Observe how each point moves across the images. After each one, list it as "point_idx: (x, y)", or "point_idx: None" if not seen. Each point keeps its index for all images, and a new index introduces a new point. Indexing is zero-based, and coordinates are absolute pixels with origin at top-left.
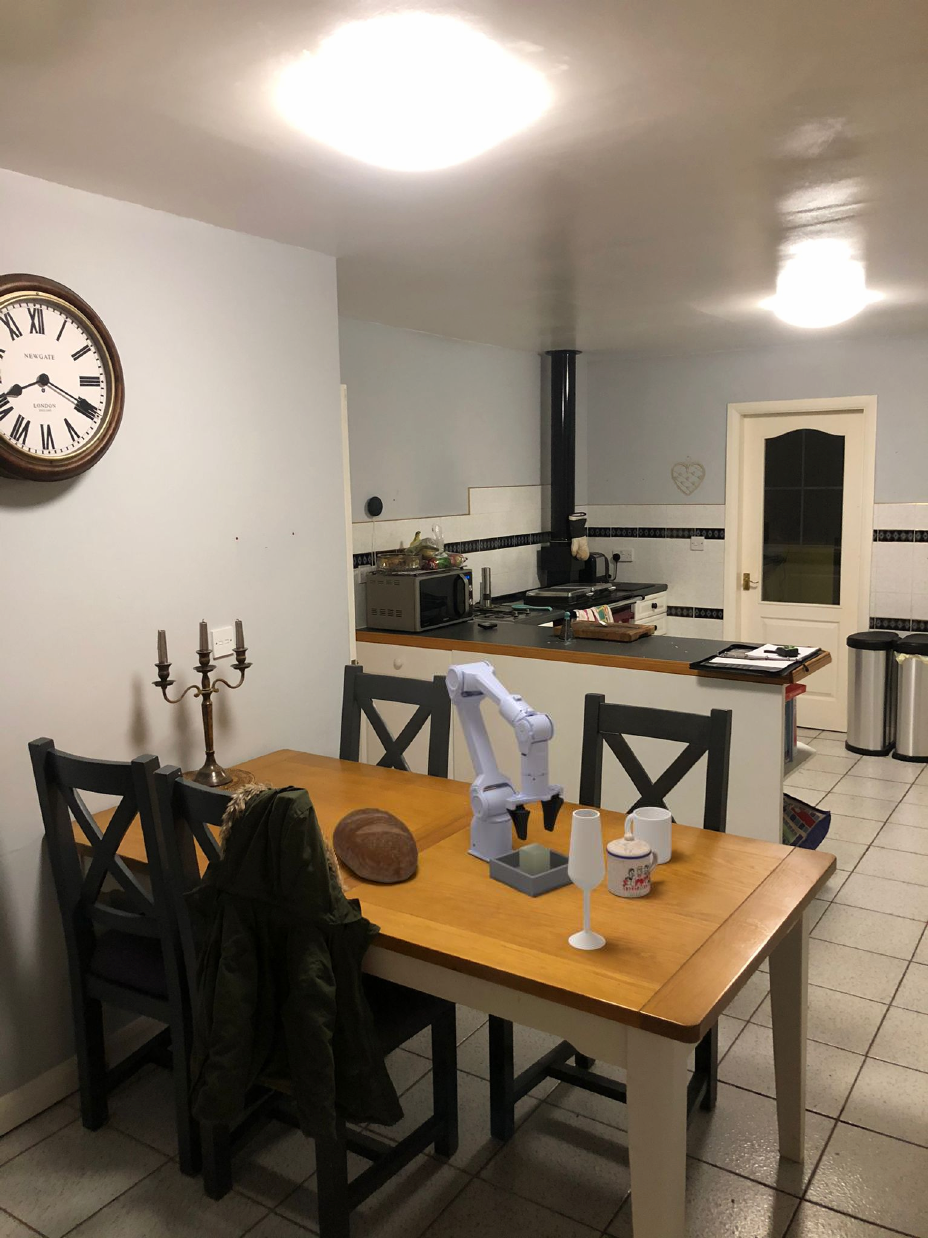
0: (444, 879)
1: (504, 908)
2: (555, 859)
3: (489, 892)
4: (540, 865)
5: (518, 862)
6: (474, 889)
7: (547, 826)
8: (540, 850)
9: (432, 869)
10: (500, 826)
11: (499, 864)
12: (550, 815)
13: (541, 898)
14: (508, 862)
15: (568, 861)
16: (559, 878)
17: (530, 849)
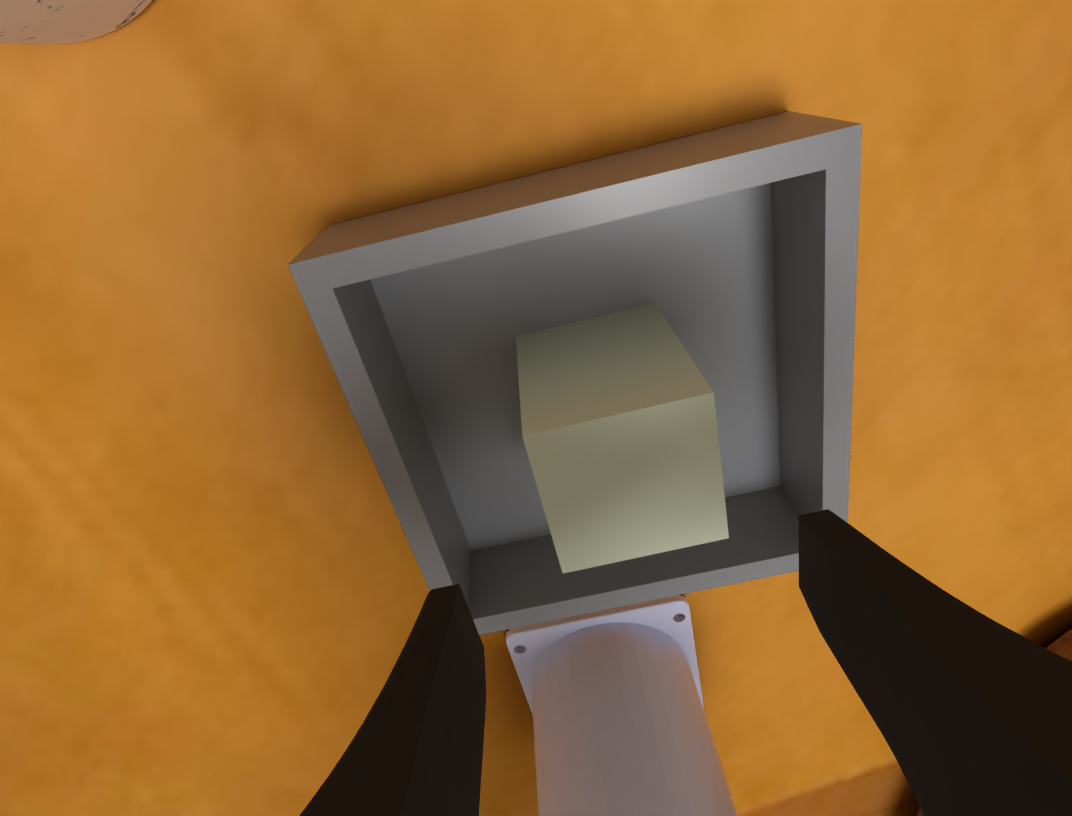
0: (981, 549)
1: (1060, 44)
2: (416, 453)
3: (937, 322)
4: (616, 356)
5: None
6: (967, 393)
7: (470, 657)
8: (614, 437)
9: None
10: (673, 807)
11: (845, 479)
12: (439, 765)
13: (746, 67)
14: None
15: (366, 351)
16: (534, 188)
17: (674, 485)
